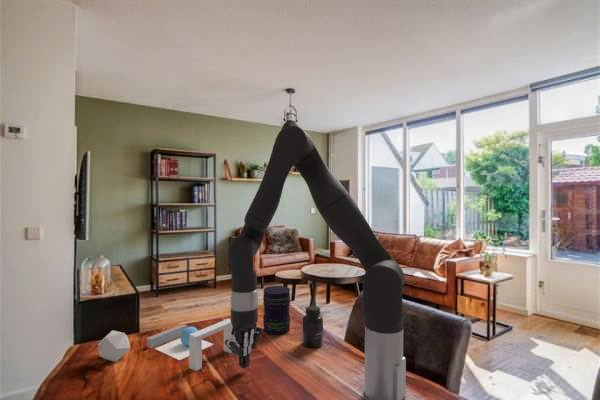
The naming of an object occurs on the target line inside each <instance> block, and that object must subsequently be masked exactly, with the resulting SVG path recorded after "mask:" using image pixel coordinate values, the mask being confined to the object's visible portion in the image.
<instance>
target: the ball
mask: <svg viewBox="0 0 600 400" xmlns="http://www.w3.org/2000/svg"><path fill="white" fill-rule="evenodd" d="M197 331H199V329H197V327H195V326H187V328H185V329H184V330H183V331H182V333H181V336H180V337H179V338H180V339H181V342H182V343H183V344H184V345H185V346H189V334H192V333H194V332H197Z"/></svg>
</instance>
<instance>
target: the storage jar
mask: <svg viewBox="0 0 600 400" xmlns="http://www.w3.org/2000/svg"><path fill="white" fill-rule="evenodd" d="M290 292H291V289H290V288H289V287H288V286H284V285H283V286H282V285H273V286H267V287H265V288H263V298H262V299H263V303H262V304H263V308H264V309H263V311H264V312H263V317H262V319H263V322H262V324H263V332H264V334H266V335H269V336H276V337H277V336H283V335H286V334H288V333H290V331H291V328H290V326H291V314H290V305H291V293H290Z"/></svg>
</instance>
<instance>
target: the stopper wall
mask: <svg viewBox="0 0 600 400" xmlns="http://www.w3.org/2000/svg"><path fill="white" fill-rule="evenodd" d="M187 327H188V324H180V325H178V326H175V327H173V328H169V329H167V330H164V331H162V332H159V333H157V334H154V335H151V336H148V337H146V346H147V348H149V349H153V348H157V347H159V346H162V345H164V344H167V343H169V342H172V341H174V340H177V339H179V338H180V336H181V333H182V331H183V330H184V329H185V328H187Z"/></svg>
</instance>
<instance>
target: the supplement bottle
mask: <svg viewBox="0 0 600 400" xmlns="http://www.w3.org/2000/svg"><path fill="white" fill-rule="evenodd" d="M323 342H324V317H323V316H322V315H321V308H320V306H317V305H310V306H306V307H305V315H304V316H303V318H302V344H303V346H305V347H306V348H311V349H315V348H317V349H318V348H319V347H321V346H323Z"/></svg>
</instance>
